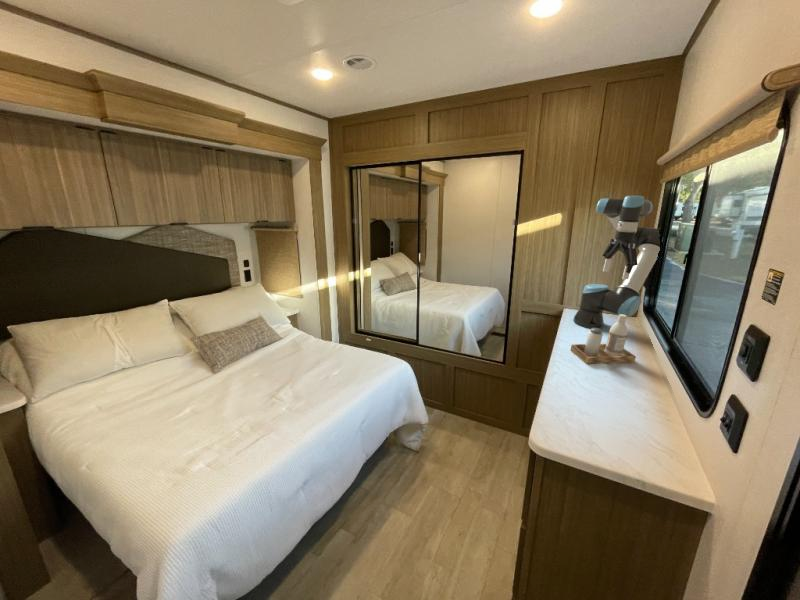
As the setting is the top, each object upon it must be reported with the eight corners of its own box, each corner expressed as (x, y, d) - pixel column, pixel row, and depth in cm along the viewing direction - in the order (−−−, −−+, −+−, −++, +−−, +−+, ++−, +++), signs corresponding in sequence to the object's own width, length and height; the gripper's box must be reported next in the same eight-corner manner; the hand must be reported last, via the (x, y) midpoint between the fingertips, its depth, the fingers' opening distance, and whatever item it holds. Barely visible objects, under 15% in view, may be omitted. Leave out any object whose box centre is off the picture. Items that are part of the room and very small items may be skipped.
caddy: (614, 349, 160) (616, 343, 158) (634, 362, 148) (635, 356, 147) (570, 350, 158) (571, 344, 157) (586, 364, 146) (587, 357, 145)
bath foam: (603, 349, 157) (613, 311, 151) (620, 352, 155) (630, 314, 148) (604, 356, 152) (614, 316, 145) (622, 359, 149) (633, 319, 142)
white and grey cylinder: (587, 351, 156) (593, 326, 151) (599, 356, 151) (606, 330, 147) (581, 354, 153) (587, 328, 148) (593, 359, 148) (599, 333, 144)
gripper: (600, 227, 161) (591, 268, 169) (639, 235, 138) (626, 282, 145) (615, 227, 162) (605, 268, 169) (655, 235, 139) (642, 282, 146)
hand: (615, 275), depth 157 cm, fingers open, 13 cm apart
